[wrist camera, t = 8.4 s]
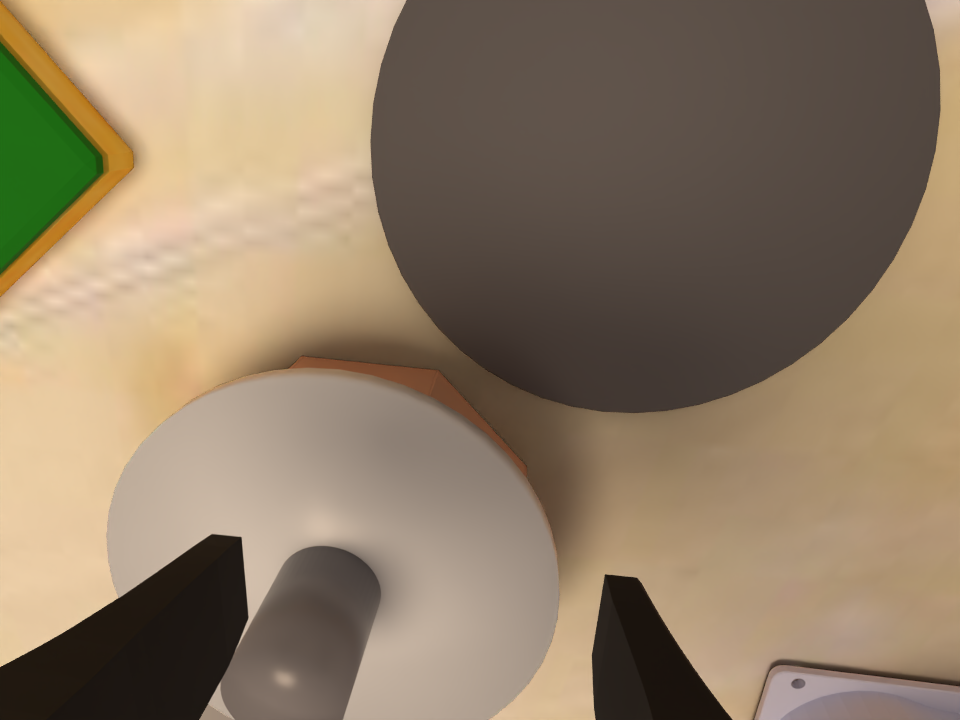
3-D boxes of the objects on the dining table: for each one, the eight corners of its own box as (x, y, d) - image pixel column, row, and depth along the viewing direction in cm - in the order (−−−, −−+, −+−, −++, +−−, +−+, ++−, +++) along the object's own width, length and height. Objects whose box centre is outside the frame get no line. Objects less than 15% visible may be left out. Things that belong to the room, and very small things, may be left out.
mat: (1023, -147, 16) (1035, -153, 16) (841, 431, 22) (846, 437, 22) (379, -188, 17) (375, -194, 17) (369, 381, 23) (366, 386, 23)
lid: (591, 399, 18) (608, 496, 14) (529, 757, 23) (527, 912, 19) (96, 340, 19) (-41, 415, 14) (144, 702, 24) (53, 840, 20)
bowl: (537, 379, 22) (536, 435, 19) (506, 640, 27) (500, 727, 23) (206, 345, 23) (143, 393, 19) (228, 606, 27) (179, 686, 24)
